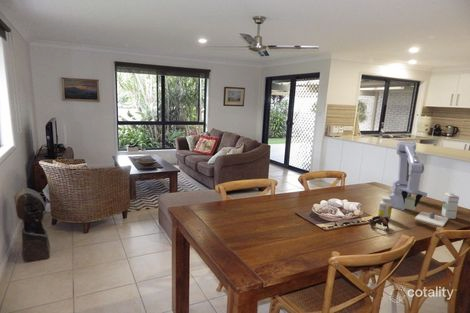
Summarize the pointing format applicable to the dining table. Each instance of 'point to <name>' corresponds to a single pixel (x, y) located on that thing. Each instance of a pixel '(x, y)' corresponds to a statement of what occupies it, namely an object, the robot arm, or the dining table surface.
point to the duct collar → (410, 203)
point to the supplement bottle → (385, 207)
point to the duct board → (431, 218)
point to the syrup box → (450, 205)
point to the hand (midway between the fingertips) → (410, 205)
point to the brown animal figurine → (380, 222)
